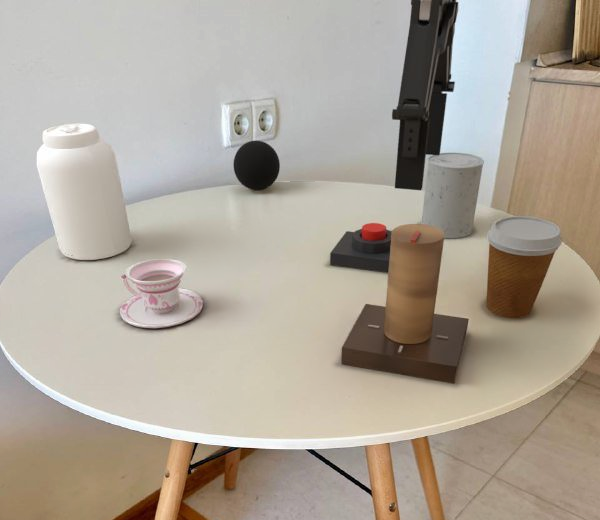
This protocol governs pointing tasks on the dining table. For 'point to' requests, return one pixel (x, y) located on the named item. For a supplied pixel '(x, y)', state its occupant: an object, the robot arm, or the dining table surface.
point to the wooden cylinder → (412, 282)
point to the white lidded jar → (83, 192)
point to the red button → (374, 231)
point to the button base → (362, 252)
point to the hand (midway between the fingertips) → (418, 170)
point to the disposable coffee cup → (518, 263)
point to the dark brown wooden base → (406, 347)
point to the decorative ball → (256, 165)
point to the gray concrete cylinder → (452, 193)
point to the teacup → (158, 295)
